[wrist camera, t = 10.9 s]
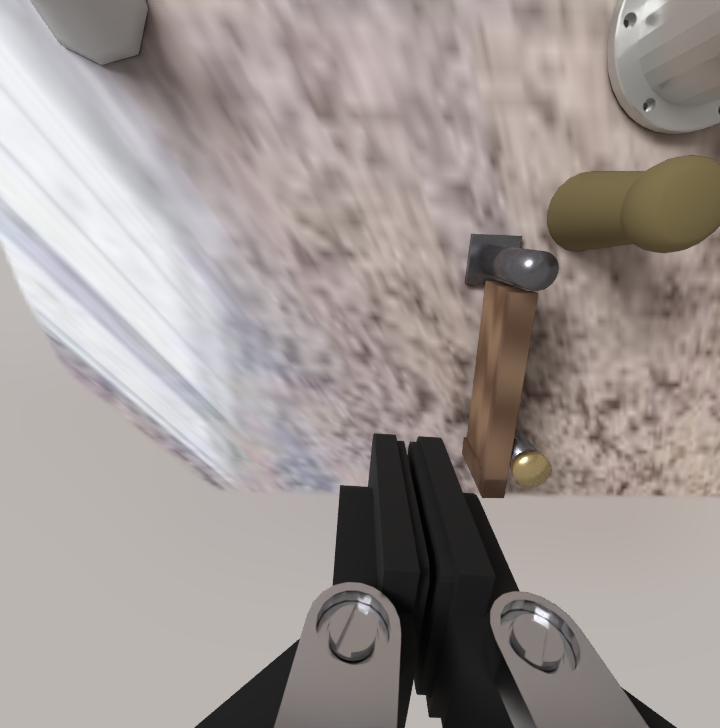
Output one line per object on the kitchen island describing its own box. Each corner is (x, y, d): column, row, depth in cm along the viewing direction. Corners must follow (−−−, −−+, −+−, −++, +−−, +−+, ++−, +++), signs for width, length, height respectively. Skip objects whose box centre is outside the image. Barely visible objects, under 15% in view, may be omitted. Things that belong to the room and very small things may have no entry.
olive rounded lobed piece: (637, 187, 30) (783, 166, 20) (597, 261, 32) (710, 277, 22) (570, 159, 29) (685, 121, 19) (533, 236, 31) (619, 240, 21)
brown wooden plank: (482, 280, 32) (511, 293, 25) (503, 280, 32) (538, 293, 25) (461, 453, 37) (482, 497, 31) (480, 453, 37) (504, 498, 31)
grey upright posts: (550, 237, 31) (620, 240, 23) (510, 435, 38) (554, 495, 29) (471, 234, 31) (512, 235, 23) (444, 433, 38) (469, 493, 29)
